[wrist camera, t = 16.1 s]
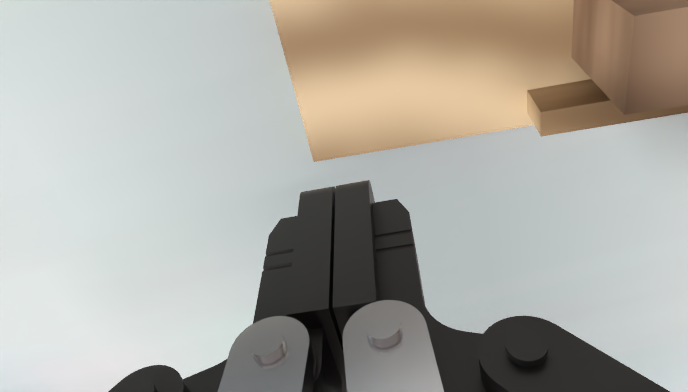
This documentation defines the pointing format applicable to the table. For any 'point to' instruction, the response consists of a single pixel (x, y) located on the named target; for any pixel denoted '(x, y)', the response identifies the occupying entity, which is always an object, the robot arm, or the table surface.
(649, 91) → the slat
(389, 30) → the guide board
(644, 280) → the table surface
